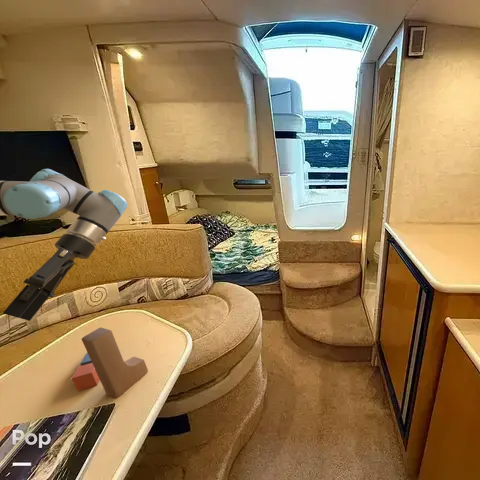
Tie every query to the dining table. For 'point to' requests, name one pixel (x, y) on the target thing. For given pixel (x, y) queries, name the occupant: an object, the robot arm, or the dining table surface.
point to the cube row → (85, 374)
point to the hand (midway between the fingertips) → (17, 317)
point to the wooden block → (112, 362)
